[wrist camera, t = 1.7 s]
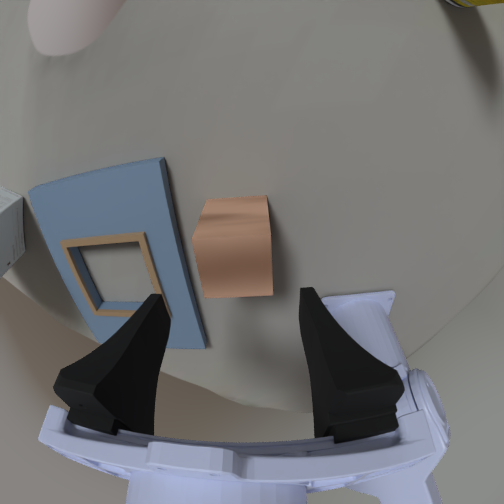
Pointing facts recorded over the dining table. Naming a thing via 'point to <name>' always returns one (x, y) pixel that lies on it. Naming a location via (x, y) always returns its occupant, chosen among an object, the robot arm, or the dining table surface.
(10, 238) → the supplement box
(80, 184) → the blue board with hole
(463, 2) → the supplement bottle
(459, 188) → the dining table surface
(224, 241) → the block
